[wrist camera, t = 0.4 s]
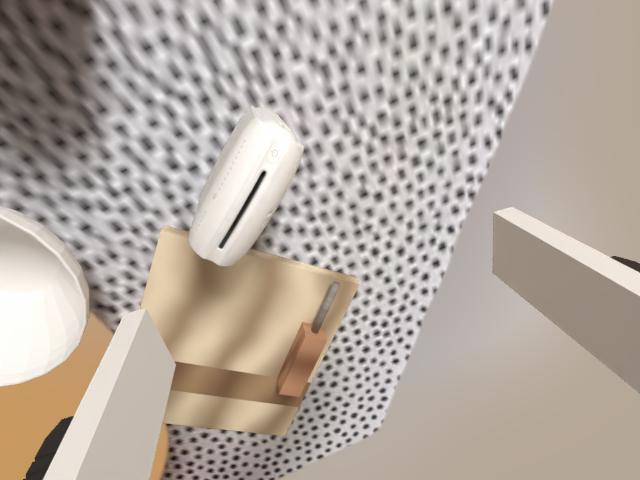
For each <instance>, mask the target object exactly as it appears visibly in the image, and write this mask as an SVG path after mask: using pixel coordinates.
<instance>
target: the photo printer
mask: <svg viewBox="0 0 640 480" xmlns="http://www.w3.org/2000/svg"><path fill="white" fill-rule="evenodd" d="M303 150H304V146H303V145H302V144H301V143H300V142H299V141H298V139H297V138H296V137H295V135H294V134H293V132H292V131H291V130H290V129H289V127H288V126H287V125H286V124H285V123H284V122H283V121H282V120H281V119H280V118H279V116H278V115H277V114H276V113H274V112H273V111H271V110H269V109H267V108H255V107H253V106H250V107H249V108H248V109H247V111H246V112H245V113H244V114H243V116H242V117H241V119H240V120H239V122H238V124H237V125H236V127H235V129H234V130H233V132H232V134H231V136H230V137H229V139H228V141H227V143H226V145H225V146H224V148H223V150H222V152H221V154H220V156H219V158H218V160H217V161H216V163H215V165H214V167H213V169H212V171H211V174H210V176H209V178H208V180H207V182H206V184H205V186H204V189H203V191H202V194H201V197H200V200H199V203H198V206H197V209H196V213H195V216H194V219H193V222H192V226H191V229H190V233H189V239H188V241H189V244H190V246H191V248H192V249H193V250H194V251H195V253H197V254H198V255H199V256H200V257H202V258H203V259H207V260H210V261H212V262H214V263H216V264H217V265H219V266H231V265H233V264H235V263H236V262H237V261H238V260H240V259H241V258H242V257H243V256H244V255H245V254H246V253H247V252H248V251H249V249H250V248H251V247H252V245H253V244H254V243H255V241H256V240H257V238H258V237H259V235H260V234H261V233H262V231H263V230H264V228H265V226H266V225H267V223H268V222H269V220H270V219H271V217H272V215H273V214H274V212H275V210H276V209H277V207H278V205H279V204H280V202H281V200H282V198H283V197H284V195H285V193H286V191H287V189H288V188H289V186H290V184H291V182H292V180H293V178H294V176H295V173H296V170H297V168H298V166H299V163H300V160H301V157H302V154H303Z"/></svg>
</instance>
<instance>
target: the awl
mask: <svg viewBox="0 0 640 480" xmlns="http://www.w3.org/2000/svg"><path fill="white" fill-rule="evenodd" d="M339 287H340V284H339V283H338V282H335V281H334V282H333V283H332V285H331V288H330V290H329V292H328V294H327V296H326V298H325V301H324V303H323V305H322V307H321V309H320V311H319V313H318V316H317V318H316V320H315V322H314V324H310V323H306V322H302V324H301V326H300V328H299V330H298V332H297V335H296V337H295V339H294V341H293V344H292V346H291V348H290V350H289V352H288V355H287V357H286V359H285V361H284V364H283V366H282V368H281V370H280V372H279V375H278V377H277V380H278V389H279V394H281V395H288V396H295V397H300V395H301V393H302V391H303V389H304V387H305V385H306V383H307V381H308V379H309V377H310V375H311V373H312V371H313V369H314V367H315V365H316V363H317V361H318V359H319V356H320V354H321V352H322V350H323V348H324V346H325V344H326V342H327V338H326V335H325V332H324V329H323V326H321V325H322V323H323V321H324V319H325V317H326V315H327V313H328V311H329V308H330V306H331V304H332V302H333V300H334V298H335V296H336V294H337V292H338V289H339Z"/></svg>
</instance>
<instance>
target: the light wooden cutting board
mask: <svg viewBox="0 0 640 480" xmlns="http://www.w3.org/2000/svg"><path fill="white" fill-rule="evenodd" d="M189 233H190V232H187V231H184V230H180V229H176V228H172V227H169V226H165V225H164V226H163V228H162V230H161V232H160V236H159V239H158V243H157V247H156V251H155V255H154V258H153V262H152V266H151V270H150V273H149V277H148V281H147V285H146V289H145V292H144V296H143V300H142V304H141V307H140V310H141V309H145V308H146V309H147V310H148V312H149V314H150V316H151V318H152V320H153V322H154V324H155V326H156V328H157V330H158V331H159V333H160V335H161V337H162V339H163V341H164V343H165V345H166V347H167V349H168V351H169V352H170V354H171V356H172V358H173V360H174V362H175V364H176V367H175V371H174V375H173V379H172V384H171V388H170V392H169V397H168V401H167V405H166V410H165V414H164V418H163V422H162V423H167V424H176V425H186V426H195V427H205V428H214V429H224V430H233V431H243V432H252V433H262V434H271V435H281V436H285V434H286V432H287V430H288V428H289V426H290V424H291V422H292V420H293V418H294V416H295V414H296V412H297V410H298V408H299V406H300V404H301V402H302V400H303V398H304V396H305V394H306V392H307V390H308V388H309V386H310V384H311V382H312V380H313V378H314V376H315V374H316V372H317V370H318V368H319V366H320V363H321V361H322V359H323V357H324V355H325V353H326V351H327V349H328V347H329V345H330V343H331V341H332V339H333V337H334V335H335V333H336V331H337V329H338V327H339V325H340V323H341V321H342V319H343V317H344V315H345V313H346V311H347V309H348V307H349V305H350V303H351V301H352V299H353V297H354V295H355V293H356V291H357V289H358V287H359V285H360V284H359V282H358V281H357V279H356V277H353V276H349V275H346V274H342V273H338V272H335V271H331V270H327V269H324V268H320V267H316V266H313V265H309V264H305V263H302V262H298V261H294V260H290V259H287V258H283V257H279V256H276V255H272V254H268V253H265V252H261V251H257V250H254V249H249V251H248V252H247V253H246V254H245V255H244V256H243V257H242V258H241V259H240V260H238V261H237V262H236V263H235V264H233V265H231V266H219V265H217V264H216V263H214V262H212V261H210V260H207V259H203V258H202V257H200V256H199V255H198V254H197V253H195V251H194V250H193V249H192V248H191V246H190V244H189V241H188V239H189ZM334 281H335V282H338V283H339V284H340V287H339V289H338V292H337V294H336V296H335V298H334V300H333V302H332V304H331V306H330V308H329V311H328V313H327V315H326V317H325V319H324V321H323V323H322V325H321V326H323V329H324V332H325V335H326V338H327V342H326V344H325V346H324V348H323V350H322V352H321V354H320V356H319V359H318V361H317V363H316V365H315V367H314V369H313V371H312V373H311V375H310V377H309V379H308V381H307V383H306V385H305V387H304V389H303V391H302V393H301V395H300V397H295V396H288V395H281V394H279V389H278V380H277V377H278V375H279V372H280V370H281V368H282V366H283V364H284V361H285V359H286V357H287V355H288V352H289V350H290V348H291V346H292V344H293V341H294V339H295V337H296V335H297V332H298V330H299V328H300V326H301V324H302V322H306V323H310V324H314V322H315V320H316V318H317V316H318V313H319V311H320V309H321V307H322V305H323V303H324V301H325V298H326V296H327V294H328V292H329V290H330V288H331V285H332V283H333V282H334Z"/></svg>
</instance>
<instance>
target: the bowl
mask: <svg viewBox="0 0 640 480" xmlns="http://www.w3.org/2000/svg"><path fill="white" fill-rule="evenodd" d="M88 319H89V287H88V284H87V282H86V279H85V276H84V273H83V270H82V267H81V266H80V264H79V263H78V261H77V260H76V258H75V257H74V256H73V254H72V253H71V252H70V250H69V249H68V247H67V246H66V245H65V243H63V242H62V241H61V240H60V239H59V238H58V237H56V236H55V235H54V234H53V233H52V232H51V231H50V230H48V229H47V228H46V227H45V226H43V225H41V224H40V223H38V222H36V221H34V220H33V219H31V218H29V217H27V216H25V215H24V214H22V213H20V212H18V211H15V210H12V209H9V208H6V207H3V206H0V387H2V386H9V385H16V384H21V383H24V382H26V381H29V380H32V379H34V378H37V377H40V376H42V375H45V374H47V373H48V372H50V371H51V370H53V369H54V368H55V367H57V366H59V365H60V364H62V363H63V362H65V361H66V360H67V358H68V357H69V356H70V355H71V353H72V352H73V351H74V350H75V349H76V347H77V346H78V345H79V344H80V341H81V339H82V336H83V333H84V330H85V327H86V325H87V321H88Z"/></svg>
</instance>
